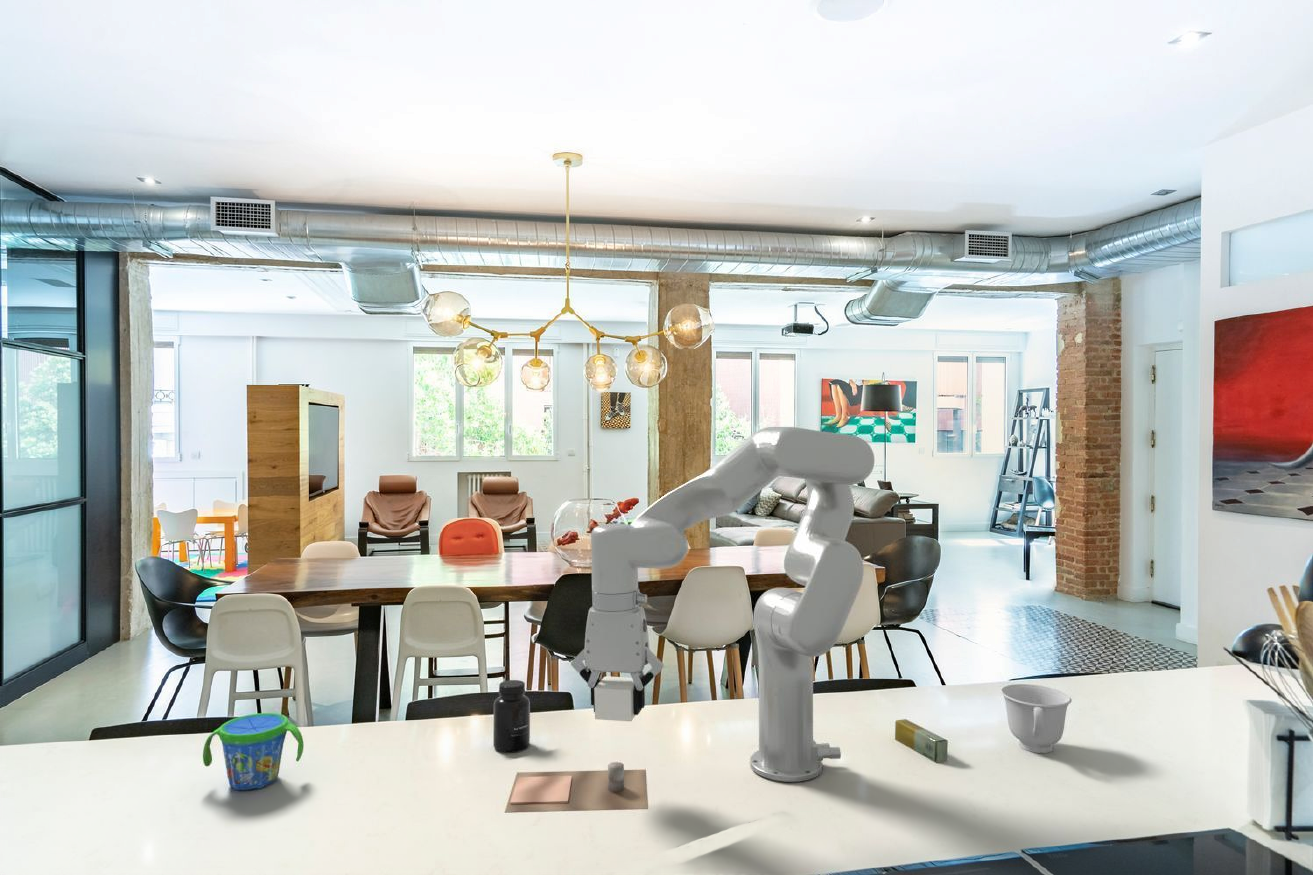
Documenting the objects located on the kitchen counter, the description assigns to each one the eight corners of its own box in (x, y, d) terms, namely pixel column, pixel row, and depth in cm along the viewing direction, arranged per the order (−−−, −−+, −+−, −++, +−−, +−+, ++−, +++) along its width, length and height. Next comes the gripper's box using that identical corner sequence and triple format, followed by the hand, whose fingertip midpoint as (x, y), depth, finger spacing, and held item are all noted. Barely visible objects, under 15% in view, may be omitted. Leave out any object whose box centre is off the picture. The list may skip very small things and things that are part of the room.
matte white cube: (640, 707, 130) (639, 677, 130) (631, 721, 124) (630, 690, 124) (605, 705, 132) (604, 676, 132) (595, 719, 126) (594, 688, 126)
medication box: (948, 762, 142) (949, 740, 142) (936, 764, 141) (937, 741, 141) (905, 738, 153) (905, 717, 153) (893, 739, 152) (894, 719, 152)
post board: (645, 778, 135) (645, 747, 135) (648, 818, 121) (647, 784, 121) (517, 781, 134) (516, 750, 134) (504, 821, 120) (504, 787, 120)
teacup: (1002, 760, 142) (1001, 705, 142) (999, 731, 155) (999, 680, 155) (1077, 771, 137) (1077, 714, 137) (1068, 739, 151) (1067, 688, 151)
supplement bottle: (522, 755, 145) (521, 690, 145) (487, 752, 147) (487, 688, 146) (535, 740, 152) (534, 678, 152) (502, 738, 153) (501, 676, 153)
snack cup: (313, 767, 140) (312, 711, 140) (287, 795, 130) (287, 733, 130) (223, 770, 139) (222, 712, 139) (190, 797, 129) (190, 735, 129)
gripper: (672, 597, 130) (674, 705, 130) (572, 594, 133) (575, 699, 134) (662, 607, 122) (664, 722, 123) (557, 604, 126) (560, 716, 126)
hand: (617, 709), depth 128 cm, fingers closed on matte white cube, 6 cm apart
